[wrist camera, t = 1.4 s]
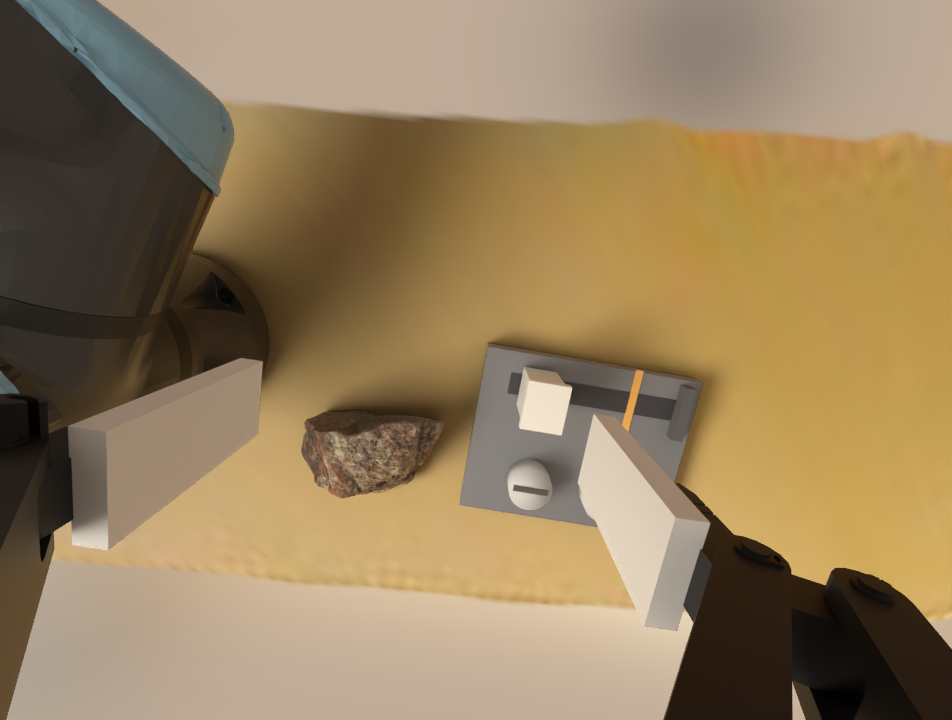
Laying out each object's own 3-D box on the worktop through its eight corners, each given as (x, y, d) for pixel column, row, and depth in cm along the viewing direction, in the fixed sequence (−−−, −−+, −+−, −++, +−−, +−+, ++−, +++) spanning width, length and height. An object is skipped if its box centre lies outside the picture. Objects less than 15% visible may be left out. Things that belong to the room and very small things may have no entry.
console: (460, 494, 45) (458, 519, 40) (488, 340, 41) (489, 349, 37) (650, 525, 45) (669, 553, 41) (693, 375, 42) (718, 388, 37)
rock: (307, 386, 44) (309, 478, 46) (257, 413, 35) (262, 524, 37) (450, 398, 43) (446, 491, 45) (434, 429, 34) (429, 543, 36)
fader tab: (513, 405, 40) (519, 428, 35) (522, 364, 39) (529, 380, 34) (550, 411, 40) (561, 435, 35) (559, 370, 40) (572, 387, 34)
